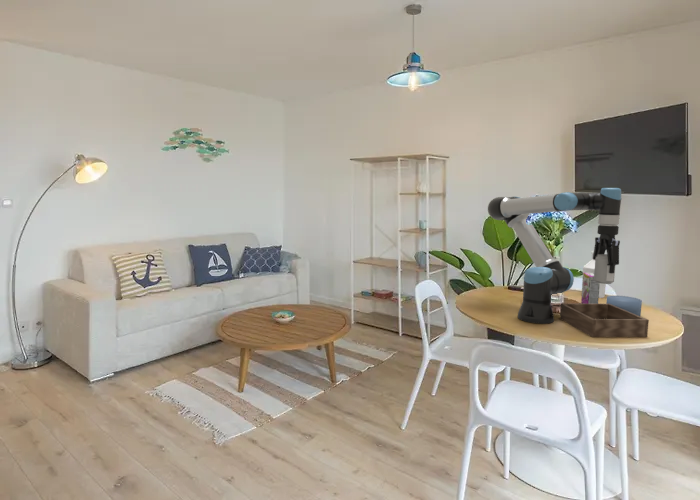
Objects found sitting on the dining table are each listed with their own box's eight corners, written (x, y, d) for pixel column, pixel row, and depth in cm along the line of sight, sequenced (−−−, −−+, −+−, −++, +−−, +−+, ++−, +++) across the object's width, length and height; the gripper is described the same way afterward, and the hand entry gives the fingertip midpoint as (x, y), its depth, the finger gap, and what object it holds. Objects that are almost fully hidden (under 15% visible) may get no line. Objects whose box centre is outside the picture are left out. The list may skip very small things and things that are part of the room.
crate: (591, 336, 176) (593, 320, 175) (559, 318, 202) (560, 303, 201) (647, 336, 176) (648, 320, 176) (608, 318, 203) (609, 303, 202)
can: (591, 282, 187) (593, 254, 185) (596, 280, 192) (599, 252, 191) (610, 285, 182) (613, 256, 180) (616, 282, 187) (618, 254, 185)
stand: (617, 319, 200) (618, 302, 199) (599, 311, 214) (600, 295, 213) (647, 319, 201) (649, 302, 200) (627, 311, 214) (629, 295, 213)
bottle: (586, 292, 256) (589, 249, 253) (608, 295, 248) (612, 251, 244) (577, 295, 249) (580, 251, 246) (600, 299, 240) (603, 253, 237)
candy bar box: (580, 303, 231) (582, 272, 229) (590, 303, 230) (593, 272, 228) (587, 308, 220) (589, 276, 218) (598, 308, 219) (600, 276, 217)
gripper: (633, 227, 174) (627, 283, 177) (603, 223, 194) (598, 274, 197) (614, 226, 174) (609, 283, 177) (586, 223, 194) (582, 274, 197)
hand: (603, 278), depth 187 cm, fingers closed on can, 7 cm apart
